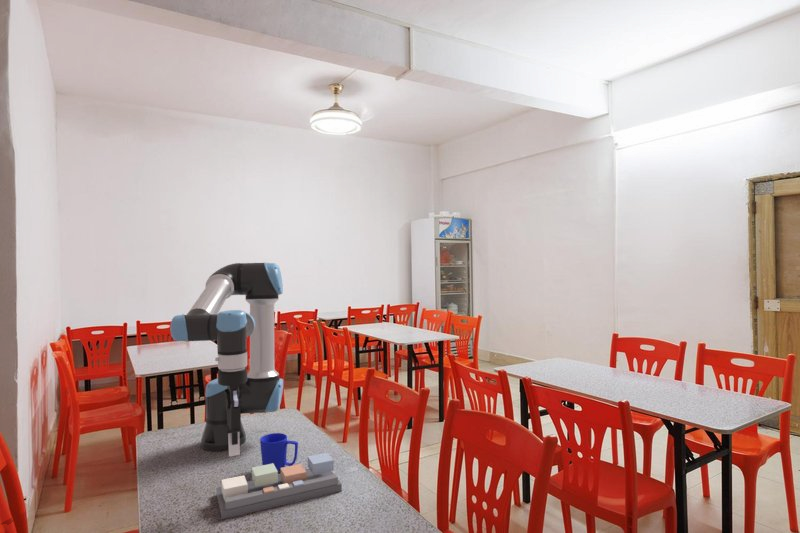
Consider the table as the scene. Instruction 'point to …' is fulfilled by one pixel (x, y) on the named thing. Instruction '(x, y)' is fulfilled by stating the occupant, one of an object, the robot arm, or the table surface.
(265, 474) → the sage key
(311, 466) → the blue key
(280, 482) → the keypad
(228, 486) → the ivory key
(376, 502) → the table surface
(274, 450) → the mug
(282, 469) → the terracotta key
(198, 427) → the table surface
